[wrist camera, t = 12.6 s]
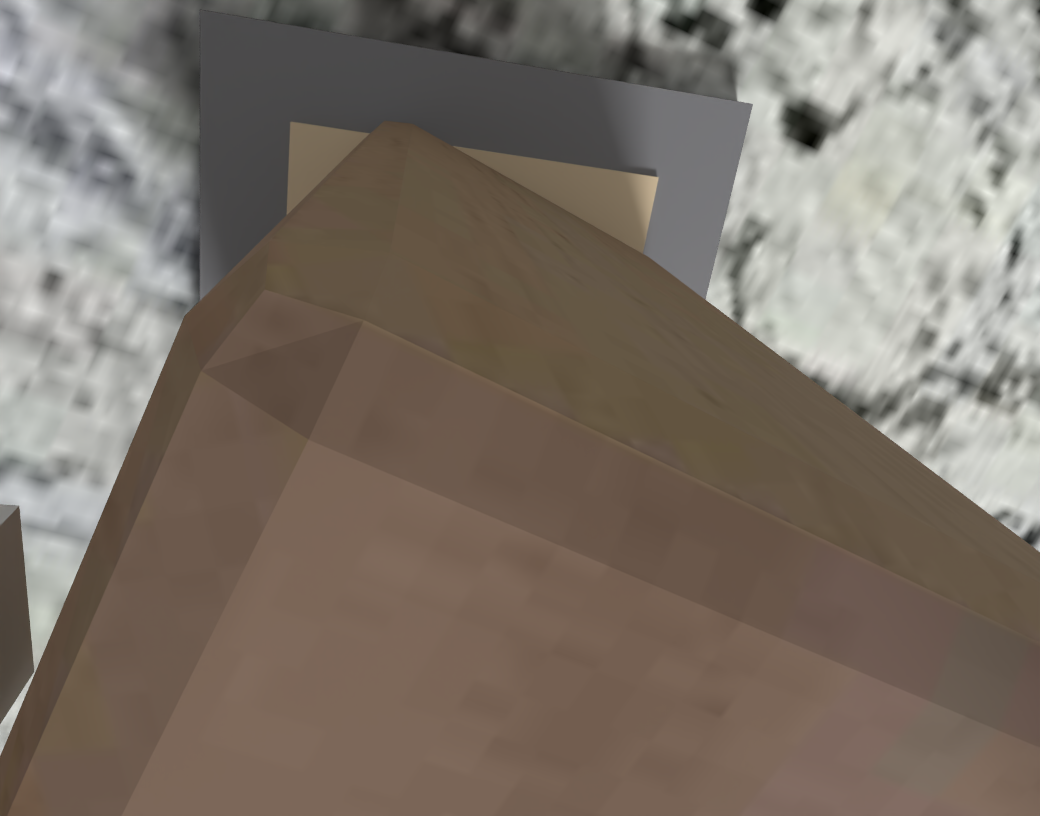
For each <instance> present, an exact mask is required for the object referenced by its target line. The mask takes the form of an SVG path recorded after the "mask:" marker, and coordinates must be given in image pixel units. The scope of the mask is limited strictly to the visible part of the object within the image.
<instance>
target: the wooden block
mask: <svg viewBox="0 0 1040 816" xmlns="http://www.w3.org/2000/svg"><path fill="white" fill-rule="evenodd" d="M0 816H1040V552H1039V551H1037V550H1036V549H1035V548H1033V547H1032V546H1031V545H1029V544H1028V543H1027V542H1025V541H1024V540H1023V539H1021V538H1020V537H1019V536H1017V535H1016V534H1015V533H1013V532H1012V531H1011V530H1010V529H1008V528H1007V527H1006V526H1004V525H1003V524H1002V523H1000V522H999V521H998V520H996V519H995V518H994V517H992V516H991V515H990V514H988V513H987V512H986V511H984V510H983V509H982V508H980V507H979V506H978V505H976V504H975V503H974V502H972V501H971V500H970V499H968V498H967V497H966V496H964V495H963V494H962V493H961V492H959V491H958V490H957V489H955V488H954V487H953V486H951V485H950V484H949V483H947V482H946V481H945V480H943V479H942V478H941V477H939V476H938V475H937V474H935V473H934V472H933V471H931V470H930V469H929V468H927V467H926V466H925V465H923V464H922V463H921V462H919V461H918V460H917V459H915V458H914V457H913V456H912V455H910V454H909V453H908V452H906V451H905V450H904V449H902V448H901V447H900V446H898V445H897V444H896V443H894V442H893V441H892V440H890V439H889V438H888V437H886V436H885V435H884V434H882V433H881V432H880V431H878V430H877V429H876V428H874V427H873V426H872V425H870V424H869V423H868V422H867V421H865V420H864V419H863V418H861V417H860V416H859V415H857V414H856V413H855V412H853V411H852V410H851V409H849V408H848V407H847V406H845V405H844V404H843V403H841V402H840V401H839V400H837V399H836V398H835V397H833V396H832V395H831V394H829V393H828V392H827V391H825V390H824V389H823V388H821V387H820V386H819V385H818V384H816V383H815V382H814V381H812V380H811V379H810V378H808V377H807V376H806V375H804V374H803V373H802V372H800V371H799V370H798V369H796V368H795V367H794V366H792V365H791V364H790V363H788V362H787V361H786V360H784V359H783V358H782V357H780V356H779V355H778V354H776V353H775V352H774V351H773V350H771V349H770V348H769V347H767V346H766V345H765V344H763V343H762V342H761V341H759V340H758V339H757V338H755V337H754V336H753V335H751V334H750V333H749V332H747V331H746V330H745V329H743V328H742V327H741V326H739V325H738V324H737V323H735V322H734V321H733V320H731V319H730V318H729V317H727V316H726V315H725V314H724V313H722V312H721V311H720V310H718V309H717V308H716V307H714V306H713V305H712V304H710V303H709V302H708V301H706V300H705V299H704V298H702V297H701V296H700V295H698V294H697V293H696V292H694V291H693V290H692V289H690V288H689V287H688V286H686V285H685V284H684V283H682V282H681V281H680V280H679V279H677V278H676V277H675V276H673V275H672V274H671V273H669V272H668V271H667V270H665V269H664V268H663V267H661V266H660V265H659V264H657V263H656V262H655V261H653V260H652V259H651V258H649V257H648V256H646V255H644V254H642V253H641V252H639V251H637V250H635V249H633V248H632V247H630V246H628V245H626V244H625V243H623V242H621V241H619V240H618V239H616V238H614V237H612V236H610V235H609V234H607V233H605V232H603V231H602V230H600V229H598V228H596V227H595V226H593V225H591V224H589V223H587V222H586V221H584V220H582V219H580V218H579V217H577V216H575V215H573V214H571V213H570V212H568V211H566V210H564V209H563V208H561V207H559V206H557V205H556V204H554V203H552V202H550V201H548V200H547V199H545V198H543V197H541V196H540V195H538V194H536V193H534V192H533V191H531V190H529V189H527V188H525V187H524V186H522V185H520V184H518V183H517V182H515V181H513V180H511V179H510V178H508V177H506V176H504V175H502V174H501V173H499V172H497V171H495V170H494V169H492V168H490V167H488V166H486V165H485V164H483V163H481V162H479V161H478V160H476V159H474V158H472V157H471V156H469V155H467V154H465V153H463V152H462V151H460V150H458V149H456V148H455V147H453V146H451V145H449V144H448V143H446V142H444V141H442V140H440V139H439V138H437V137H435V136H433V135H432V134H430V133H428V132H426V131H424V130H423V129H421V128H419V127H417V126H416V125H414V124H410V123H401V122H393V121H384V122H382V123H381V124H380V125H379V126H378V127H377V128H376V129H375V130H373V131H372V132H371V133H370V134H369V135H368V136H367V137H366V138H364V139H363V140H362V141H361V142H360V143H359V144H358V145H357V146H356V147H355V148H354V149H353V150H352V151H351V152H350V153H349V154H348V155H347V156H346V157H345V158H344V159H343V160H342V161H341V162H340V163H339V164H338V165H337V166H336V167H335V168H334V169H333V170H332V171H331V172H330V173H329V174H328V175H327V176H326V177H325V178H324V179H323V180H322V181H321V182H320V183H319V184H318V185H317V186H316V187H315V188H314V189H313V190H312V191H311V192H310V193H309V194H308V195H307V196H306V197H305V198H304V199H303V200H302V201H301V202H300V203H299V204H298V205H297V206H295V207H294V208H293V209H292V210H291V211H290V212H289V213H288V214H287V215H286V216H285V217H284V218H283V219H282V220H281V221H280V222H279V223H278V224H277V225H276V226H275V227H274V228H273V229H272V230H271V231H270V232H269V233H268V234H267V235H266V236H265V237H264V238H263V239H262V240H261V241H260V242H259V243H258V244H257V245H256V246H255V247H254V248H253V249H252V250H251V251H250V252H249V253H248V254H247V255H246V256H245V257H244V258H243V259H242V260H241V261H240V262H239V263H238V264H237V265H236V266H235V267H234V268H233V269H232V270H231V271H230V272H229V273H228V274H227V275H226V276H225V277H224V278H223V279H222V280H221V281H220V282H219V283H218V284H216V285H215V286H214V287H213V288H212V289H211V290H210V291H209V292H208V293H207V294H206V295H205V296H204V297H203V298H202V299H201V300H200V301H199V302H198V303H197V304H196V305H195V306H194V307H193V308H192V309H191V310H190V311H189V312H188V313H187V314H186V315H185V317H184V319H183V321H182V324H181V326H180V329H179V331H178V333H177V336H176V338H175V340H174V343H173V345H172V348H171V350H170V352H169V355H168V357H167V360H166V362H165V364H164V367H163V369H162V372H161V374H160V376H159V379H158V381H157V383H156V386H155V388H154V391H153V393H152V395H151V398H150V400H149V403H148V405H147V407H146V410H145V412H144V414H143V417H142V419H141V422H140V424H139V426H138V429H137V431H136V434H135V436H134V438H133V441H132V443H131V446H130V448H129V450H128V453H127V455H126V457H125V460H124V462H123V465H122V467H121V469H120V472H119V474H118V477H117V479H116V481H115V484H114V486H113V488H112V491H111V493H110V496H109V498H108V500H107V503H106V505H105V508H104V510H103V512H102V515H101V517H100V520H99V522H98V524H97V527H96V529H95V531H94V534H93V536H92V539H91V541H90V543H89V546H88V548H87V551H86V553H85V555H84V558H83V560H82V562H81V565H80V567H79V570H78V572H77V574H76V577H75V579H74V582H73V584H72V586H71V589H70V591H69V594H68V596H67V598H66V601H65V603H64V605H63V608H62V610H61V613H60V615H59V617H58V620H57V622H56V625H55V627H54V629H53V632H52V634H51V637H50V639H49V641H48V644H47V646H46V648H45V651H44V653H43V656H42V658H41V660H40V663H39V665H38V668H37V670H36V672H35V675H34V677H33V679H32V682H31V684H30V687H29V689H28V691H27V694H26V696H25V699H24V701H23V703H22V706H21V708H20V711H19V713H18V715H17V718H16V720H15V722H14V725H13V727H12V730H11V732H10V734H9V737H8V739H7V742H6V744H5V746H4V749H3V751H2V753H1V756H0Z"/></svg>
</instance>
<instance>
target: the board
mask: <svg viewBox="0 0 1040 816" xmlns="http://www.w3.org/2000/svg"><path fill="white" fill-rule="evenodd" d="M752 106H753V104H750V103H744V102H738V101H732V100H726V99H720V98H715V97H709V96H703V95H697V94H691V93H685V92H680V91H674V90H668V89H662V88H656V87H650V86H644V85H639V84H633V83H627V82H621V81H615V80H609V79H604V78H598V77H592V76H586V75H580V74H574V73H568V72H563V71H557V70H551V69H545V68H539V67H533V66H528V65H522V64H516V63H510V62H504V61H498V60H492V59H487V58H481V57H475V56H469V55H463V54H457V53H452V52H446V51H440V50H434V49H428V48H422V47H416V46H411V45H405V44H399V43H393V42H387V41H381V40H376V39H370V38H364V37H358V36H352V35H346V34H340V33H335V32H329V31H323V30H317V29H311V28H305V27H300V26H294V25H288V24H282V23H276V22H270V21H264V20H259V19H253V18H247V17H241V16H235V15H229V14H224V13H218V12H212V11H206V10H200V300H201V299H202V298H203V297H204V296H205V295H206V294H207V293H208V292H209V291H210V290H211V289H212V288H213V287H214V286H215V285H216V284H218V283H219V282H220V281H221V280H222V279H223V278H224V277H225V276H226V275H227V274H228V273H229V272H230V271H231V270H232V269H233V268H234V267H235V266H236V265H237V264H238V263H239V262H240V261H241V260H242V259H243V258H244V257H245V256H246V255H247V254H248V253H249V252H250V251H251V250H252V249H253V248H254V247H255V246H256V245H257V244H258V243H259V242H260V241H261V240H262V239H263V238H264V237H265V236H266V235H267V234H268V233H269V232H270V231H271V230H272V229H273V228H274V227H275V226H276V225H277V224H278V223H279V222H280V221H281V220H282V219H283V218H284V217H285V216H286V215H287V214H288V213H289V212H290V211H291V210H292V209H293V208H294V207H295V206H297V205H298V204H299V203H300V202H301V201H302V200H303V199H304V198H305V197H306V196H307V195H308V194H309V193H310V192H311V191H312V190H313V189H314V188H315V187H316V186H317V185H318V184H319V183H320V182H321V181H322V180H323V179H324V178H325V177H326V176H327V175H328V174H329V173H330V172H331V171H332V170H333V169H334V168H335V167H336V166H337V165H338V164H339V163H340V162H341V161H342V160H343V159H344V158H345V157H346V156H347V155H348V154H349V153H350V152H351V151H352V150H353V149H354V148H355V147H356V146H357V145H358V144H359V143H360V142H361V141H362V140H363V139H364V138H366V137H367V136H368V135H369V134H370V133H371V132H372V131H373V130H375V129H376V128H377V127H378V126H379V125H380V124H381V123H382V122H384V121H393V122H401V123H410V124H414V125H416V126H417V127H419V128H421V129H423V130H424V131H426V132H428V133H430V134H432V135H433V136H435V137H437V138H439V139H440V140H442V141H444V142H446V143H448V144H449V145H451V146H453V147H455V148H456V149H458V150H460V151H462V152H463V153H465V154H467V155H469V156H471V157H472V158H474V159H476V160H478V161H479V162H481V163H483V164H485V165H486V166H488V167H490V168H492V169H494V170H495V171H497V172H499V173H501V174H502V175H504V176H506V177H508V178H510V179H511V180H513V181H515V182H517V183H518V184H520V185H522V186H524V187H525V188H527V189H529V190H531V191H533V192H534V193H536V194H538V195H540V196H541V197H543V198H545V199H547V200H548V201H550V202H552V203H554V204H556V205H557V206H559V207H561V208H563V209H564V210H566V211H568V212H570V213H571V214H573V215H575V216H577V217H579V218H580V219H582V220H584V221H586V222H587V223H589V224H591V225H593V226H595V227H596V228H598V229H600V230H602V231H603V232H605V233H607V234H609V235H610V236H612V237H614V238H616V239H618V240H619V241H621V242H623V243H625V244H626V245H628V246H630V247H632V248H633V249H635V250H637V251H639V252H641V253H642V254H644V255H646V256H648V257H649V258H651V259H652V260H653V261H655V262H656V263H657V264H659V265H660V266H661V267H663V268H664V269H665V270H667V271H668V272H669V273H671V274H672V275H673V276H675V277H676V278H677V279H679V280H680V281H681V282H682V283H684V284H685V285H686V286H688V287H689V288H690V289H692V290H693V291H694V292H696V293H697V294H698V295H700V296H701V297H702V298H704V299H706V294H707V290H708V286H709V282H710V278H711V274H712V270H713V266H714V262H715V258H716V253H717V249H718V245H719V241H720V237H721V233H722V229H723V225H724V221H725V217H726V212H727V208H728V204H729V200H730V196H731V192H732V188H733V184H734V180H735V175H736V171H737V167H738V163H739V159H740V155H741V151H742V147H743V143H744V139H745V134H746V130H747V126H748V122H749V118H750V114H751V110H752Z"/></svg>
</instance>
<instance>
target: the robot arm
mask: <svg viewBox="0 0 1040 816" xmlns="http://www.w3.org/2000/svg"><path fill="white" fill-rule="evenodd" d="M33 673H34V664H33V653H32V642H31V631H30V620H29V609H28V598H27V586H26V575H25V564H24V553H23V542H22V531H21V520H20V509H19V506H16V505H0V724H1V722H2V720H3V719H4V717H5V716H6V714H7V713H8V711H9V710H10V708H11V707H12V705H13V703H14V702H15V700H16V699H17V697H18V696H19V694H20V693H21V691H22V690H23V688H24V686H25V685H26V683H27V682H28V680H29V679H30V677H31V676H32V674H33Z"/></svg>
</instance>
